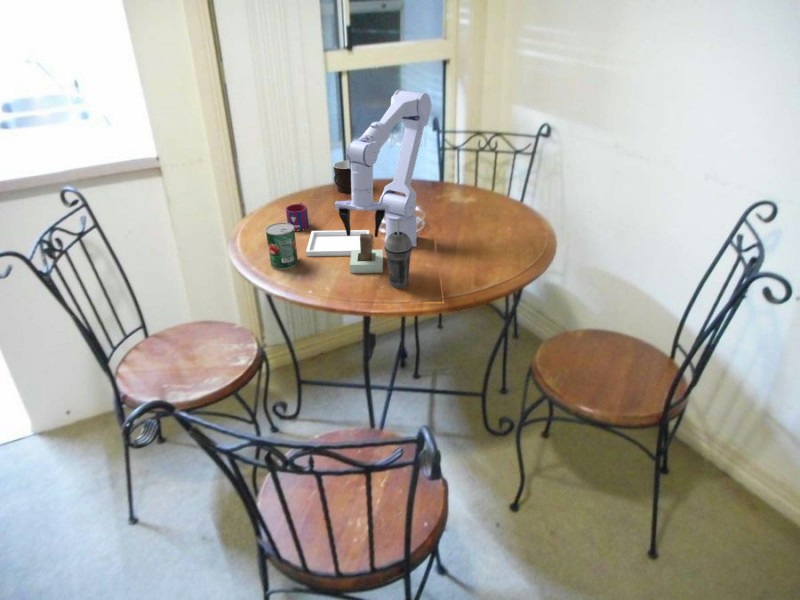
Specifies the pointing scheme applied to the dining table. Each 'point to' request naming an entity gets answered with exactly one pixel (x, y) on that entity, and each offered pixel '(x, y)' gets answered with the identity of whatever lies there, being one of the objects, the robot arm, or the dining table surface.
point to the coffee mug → (342, 176)
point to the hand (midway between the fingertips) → (362, 235)
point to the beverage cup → (398, 257)
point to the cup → (297, 216)
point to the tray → (334, 243)
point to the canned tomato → (282, 245)
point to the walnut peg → (366, 247)
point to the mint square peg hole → (366, 262)
